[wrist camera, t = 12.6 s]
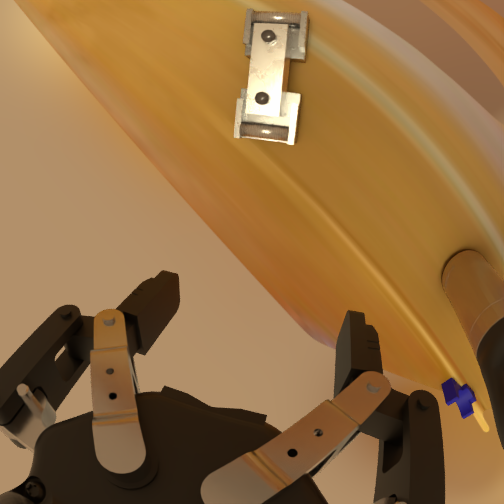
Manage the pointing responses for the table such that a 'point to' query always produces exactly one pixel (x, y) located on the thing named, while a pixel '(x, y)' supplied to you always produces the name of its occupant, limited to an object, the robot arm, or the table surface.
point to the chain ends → (287, 125)
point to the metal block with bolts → (269, 69)
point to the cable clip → (459, 396)
